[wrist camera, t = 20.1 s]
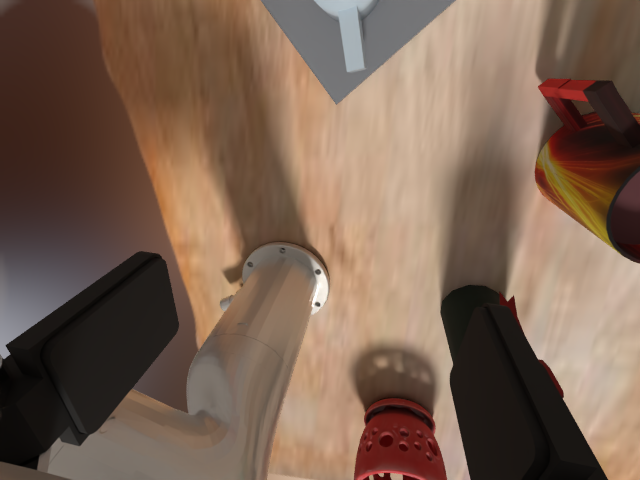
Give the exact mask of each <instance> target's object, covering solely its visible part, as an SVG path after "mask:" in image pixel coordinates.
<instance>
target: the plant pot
mask: <svg viewBox="0 0 640 480" xmlns="http://www.w3.org/2000/svg"><path fill="white" fill-rule="evenodd" d="M364 422H365V426H366V427H365V429H364V431H363V434H362V436H361V439H360V443H359V447H358V452H357V457H356V464H355V473H354V480H369V475H373V477H374V480H391V478H390V473H398V474H402V475H403V480H447V477H446V471H445V466H444V462H443V458H442V454H441V451H440V448H439V446H438V443H437V441H436V439H435V437H434V433H435V422H434V420H433V418H432V416H431V415H430V414H429V412H428V411H427V410H426V409H424V408H423V407H422V406H420V405H418V404H416V403H414V402H412V401H409V400H406V399H398V398H389V399H383V400H380V401H377V402H375V403H374V404H372V405H371V406H370V407H369V408H368V410H367V411H366V413H365V416H364ZM378 473H384V477H380V476H379V475H378Z"/></svg>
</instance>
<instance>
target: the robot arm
mask: <svg viewBox="0 0 640 480" xmlns="http://www.w3.org/2000/svg"><path fill="white" fill-rule="evenodd" d="M242 280H243V286H242V287H241V289H240V290H238V291H237V292H236V294H235V295H231V296H228V297H226V298H223V299H222V300H221V301H220V306H221V308H222V310H223V311H225V312H224V314H223V315H222V317H221V318H220V320H219V321H218V323H217V324H216V326H215V327H214V329H213V330H212V332H211V333H210V335H209V336H208V338H207V339H206V341H205V342H204V344H203V345H202V347H201V348H200V350H199V351H198V353H197V354H196V356H195V358H194V359H193V362H192V364H191V367H190V370H189V374H188V379H187V404H188V413H189V414H187V413H185V412H182V411H180V410H178V409H177V410H176V409H173V408H171V407H169V406H167V405H165V404H163V403H161V402H159V401H157V400H155V399H152V398H150V397H148V396H146V395H144V394H142V393H140V392H137V391H136V390H134V389H132V388H133V387H134V385H135V384H136V383H137V382H138V380H139V379H140V378H141V377H142V375H143V374H144V373H145V372H146V370H147V369H148V368H149V367H150V366H151V364H152V363H153V362H154V361H155V359H156V358H157V357H158V356H159V354H160V353H161V352H162V351H163V349H164V348H165V347H166V346H167V344H168V343H169V342H170V341H171V340H172V338H173V337H174V336H175V335H176V333H177V331H178V327H179V322H178V317H177V312H176V307H175V303H174V298H173V293H172V288H171V283H170V279H169V274H168V269H167V264H166V261H165V260H163V259H162V257H161V256H160V255H159V254H156V253H149V252H143V251H141V252H137V253H136V254H134V255H133V256H131V257H130V258H129V259H127V260H126V261H124V262H123V263H122V264H120V265H119V266H117V267H116V268H114V269H113V270H112V271H110V272H109V273H107V274H106V275H104V276H103V277H102V278H100V279H99V280H97V281H96V282H95V283H93V284H92V285H90V286H89V287H87V288H86V289H85V290H83V291H82V292H80V293H79V294H78V295H76V296H75V297H73V298H72V299H71V300H69V301H68V302H66V303H65V304H64V305H62V306H61V307H59V308H58V309H56V310H55V311H54V312H52V313H51V314H49V315H48V316H46V317H45V318H44V319H42V320H41V321H39V322H38V323H37V324H35V325H34V326H32V327H31V328H29V329H28V330H27V331H25V332H24V333H22V334H21V335H20V336H18V337H17V338H15V339H14V340H13V341H11V342H10V343H9V344H7V345H6V347H7V349H8V350H9V352H10V354H11V355H9V356H8V357H7V358H5V359H3V358H2V356H1V355H0V480H267V476H268V469H269V463H270V457H271V452H272V447H273V442H274V437H275V433H276V429H277V425H278V421H279V417H280V414H281V410H282V407H283V403H284V400H285V397H286V393H287V390H288V387H289V383H290V380H291V377H292V373H293V370H294V367H295V364H296V361H297V357H298V354H299V351H300V348H301V344H302V341H303V338H304V335H305V331H306V328H307V325H308V322H309V318H310V316H311V315H313V314H315V313H316V312H318V311H319V310H320V309H321V308H322V307H323V306H324V304H325V302H326V300H327V298H328V295H329V289H330V281H329V276H328V273H327V271H326V269H325V267H324V265H323V264H322V263H321V261H320V260H319V259H318V258H317V257H316V256H315V255H314V254H312V253H311V252H310V251H308V250H306V249H305V248H303V247H300V246H298V245H295V244H291V243H287V242H273V243H268V244H265V245H262V246H260V247H259V248H257V249H255V250H254V251H253V252H252V253H251V254H250V256H249V257H248V258H247V260H246V262H245V264H244V266H243V271H242ZM450 387H451V392H452V396H453V401H454V405H455V410H456V415H457V419H458V424H459V428H460V433H461V438H462V442H463V447H464V451H465V456H466V461H467V465H468V470H469V474H470V479H471V480H608V479H607V477H606V475H605V473H604V472H603V470H602V468H601V466H600V464H599V463H598V461H597V459H596V457H595V455H594V454H593V452H592V450H591V448H590V447H589V445H588V443H587V441H586V439H585V438H584V436H583V434H582V432H581V430H580V429H579V427H578V425H577V423H576V422H575V420H574V418H573V416H572V414H571V413H570V411H569V409H568V407H567V405H566V404H565V402H564V400H563V398H562V397H561V395H560V393H559V391H558V389H557V388H556V386H555V384H554V382H553V380H552V379H551V377H550V375H549V373H548V372H547V370H546V368H545V367H544V366H543V364H541V363H540V362H539V361H538V359H537V357H536V355H535V353H534V351H533V350H532V348H531V346H530V344H529V342H528V341H527V339H526V337H525V335H524V333H523V331H522V330H521V328H520V326H519V324H518V322H517V321H516V319H515V317H514V315H513V313H512V311H511V310H510V308H509V307H507V306H503V305H497V304H490V303H484V304H483V305H482V306H481V307H476V308H475V309H474V311H473V313H472V316H471V319H470V321H469V324H468V327H467V330H466V332H465V335H464V338H463V340H462V343H461V346H460V349H459V351H458V354H457V357H456V359H455V362H454V365H453V367H452V370H451V373H450Z"/></svg>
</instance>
